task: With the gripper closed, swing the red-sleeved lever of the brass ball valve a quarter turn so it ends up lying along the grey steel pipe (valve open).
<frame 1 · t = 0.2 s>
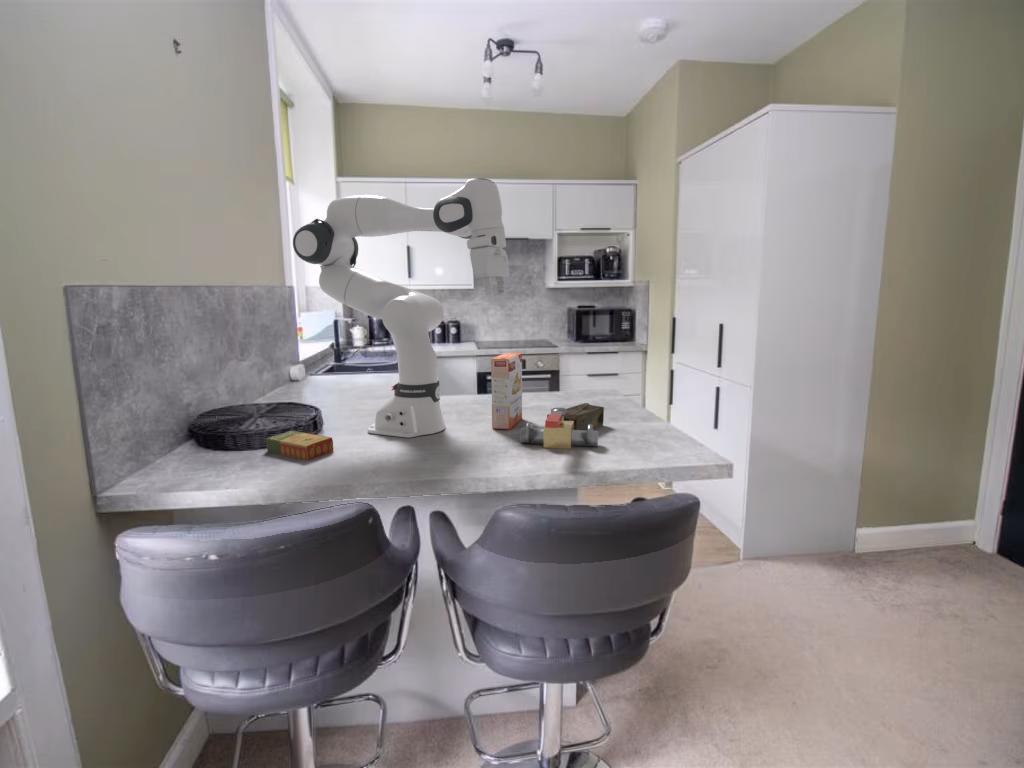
hand: (495, 294, 139), 39 cm above the counter, tool pointing down, fingers open, 8 cm apart
valve body: (559, 444, 135), on the counter
carton: (300, 453, 133), on the counter
cracker box: (508, 424, 156), on the counter
lever: (556, 417, 128), point 9 cm above the counter, hinge at 0.0°
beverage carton: (575, 431, 148), on the counter
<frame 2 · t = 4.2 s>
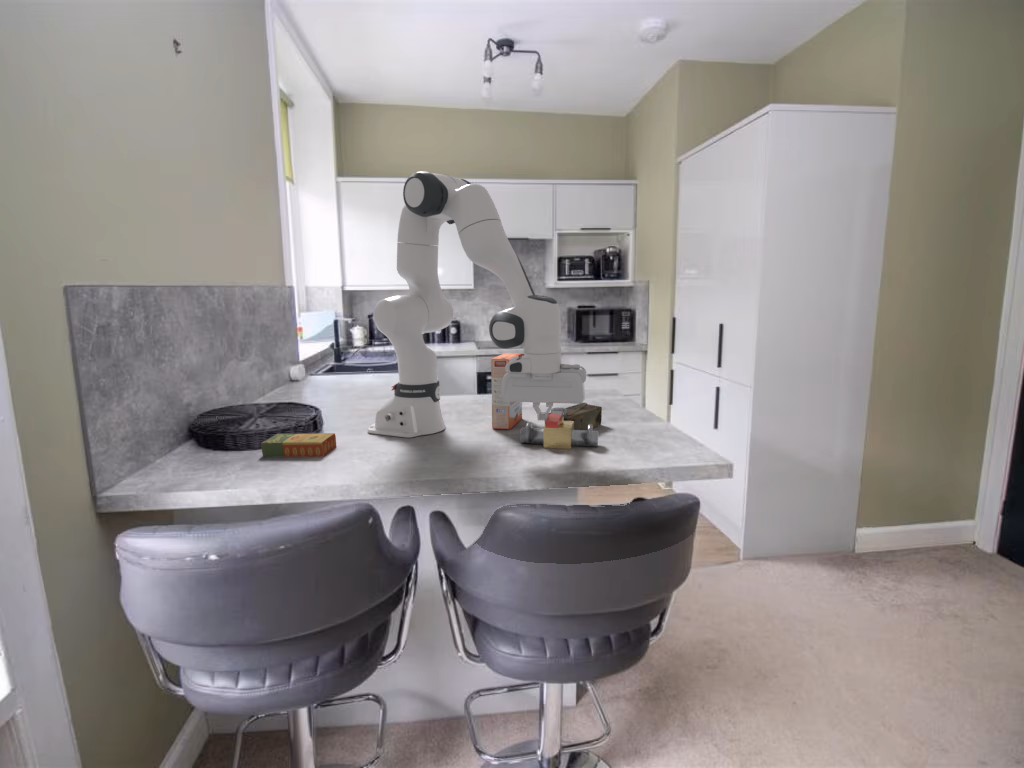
hand: (543, 419, 126), 9 cm above the counter, tool pointing down, fingers closed
lever: (556, 417, 128), point 9 cm above the counter, hinge at 0.0°, touching gripper
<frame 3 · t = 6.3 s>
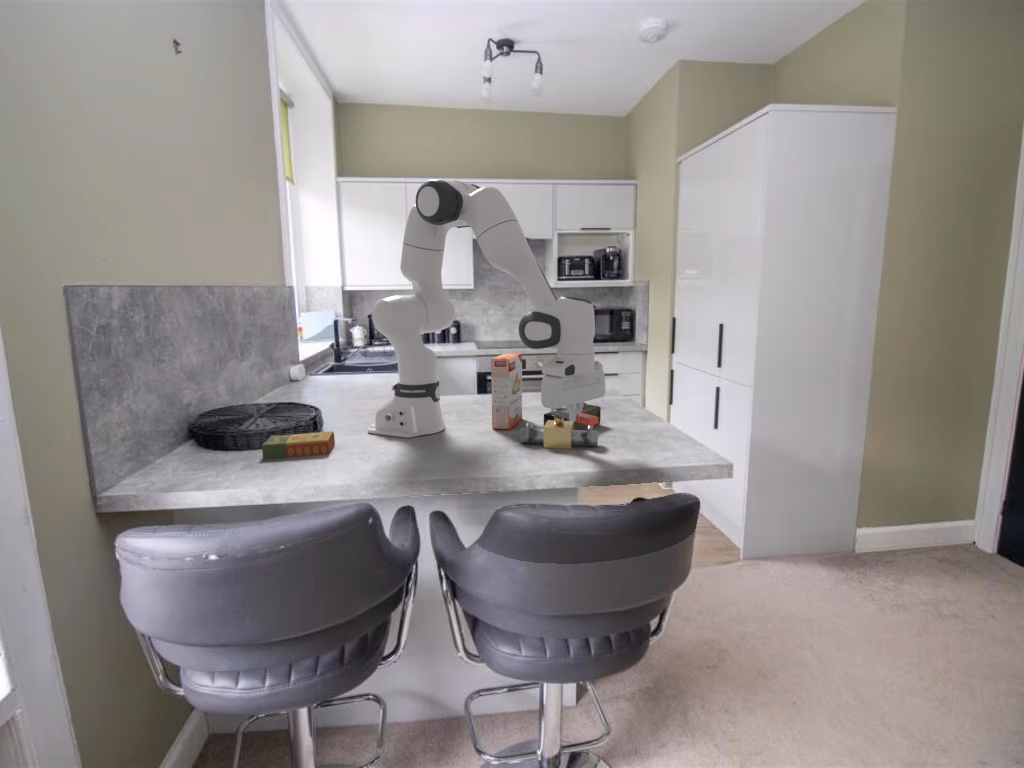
hand: (574, 420, 125), 8 cm above the counter, tool pointing down, fingers closed
lever: (573, 415, 129), point 9 cm above the counter, hinge at 50.2°, touching gripper
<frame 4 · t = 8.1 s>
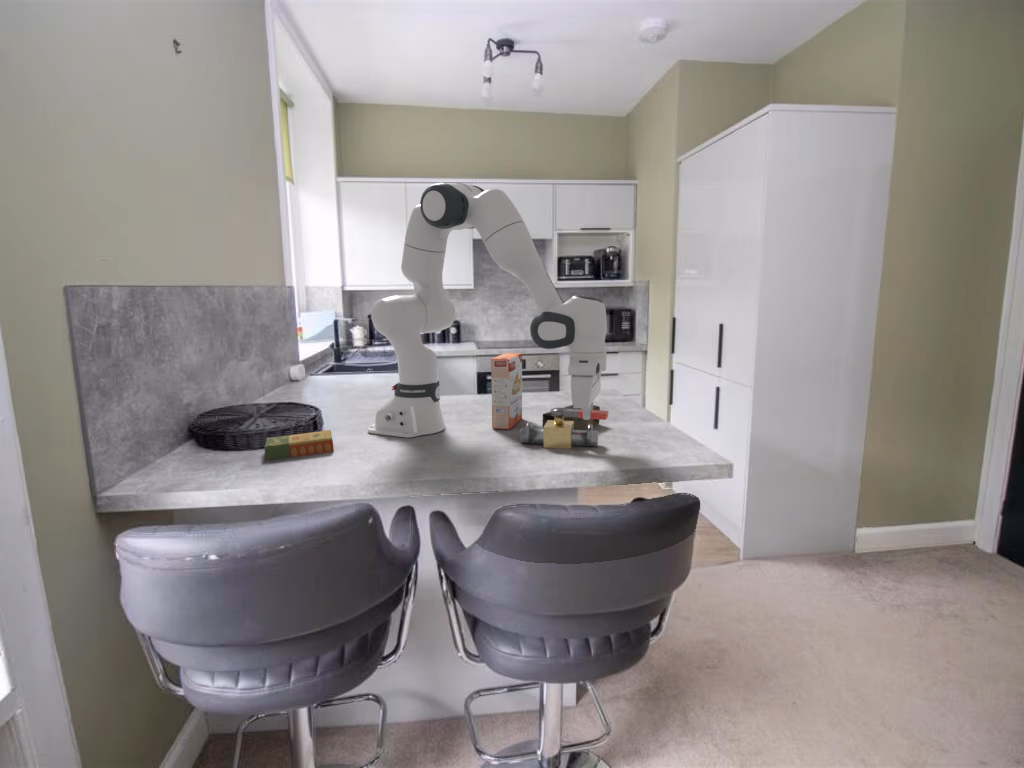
hand: (587, 418, 127), 8 cm above the counter, tool pointing down, fingers closed
lever: (578, 413, 131), point 9 cm above the counter, hinge at 82.0°
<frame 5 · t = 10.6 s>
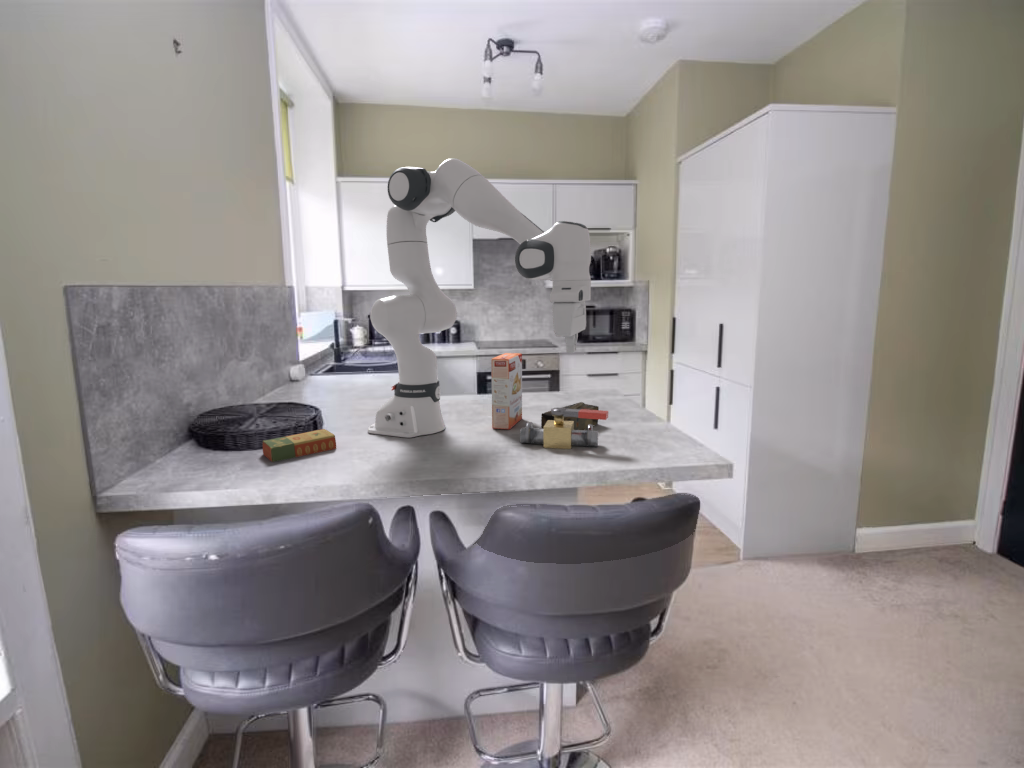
hand: (571, 352, 122), 25 cm above the counter, tool pointing down, fingers closed
at the end: lever at +82° (first picture: +0°); lever touching nothing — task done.
